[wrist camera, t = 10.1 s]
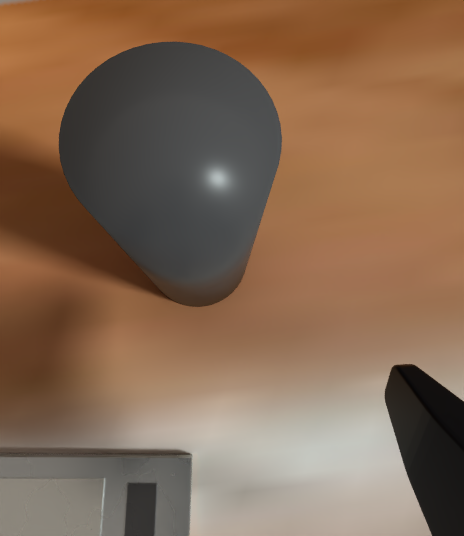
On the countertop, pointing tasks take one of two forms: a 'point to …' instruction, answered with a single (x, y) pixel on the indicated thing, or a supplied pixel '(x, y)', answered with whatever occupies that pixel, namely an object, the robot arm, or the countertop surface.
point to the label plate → (95, 494)
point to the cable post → (175, 163)
